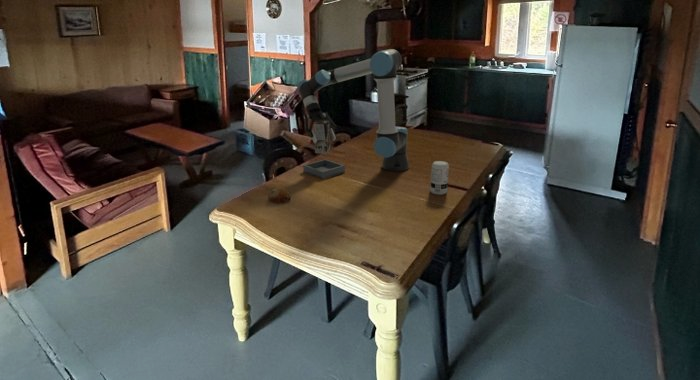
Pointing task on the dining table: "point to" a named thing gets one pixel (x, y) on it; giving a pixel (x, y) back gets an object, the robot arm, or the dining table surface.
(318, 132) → the coffee box
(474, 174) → the dining table surface
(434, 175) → the supplement can
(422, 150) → the dining table surface
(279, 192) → the bread roll
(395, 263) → the dining table surface
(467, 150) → the dining table surface
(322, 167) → the tray
